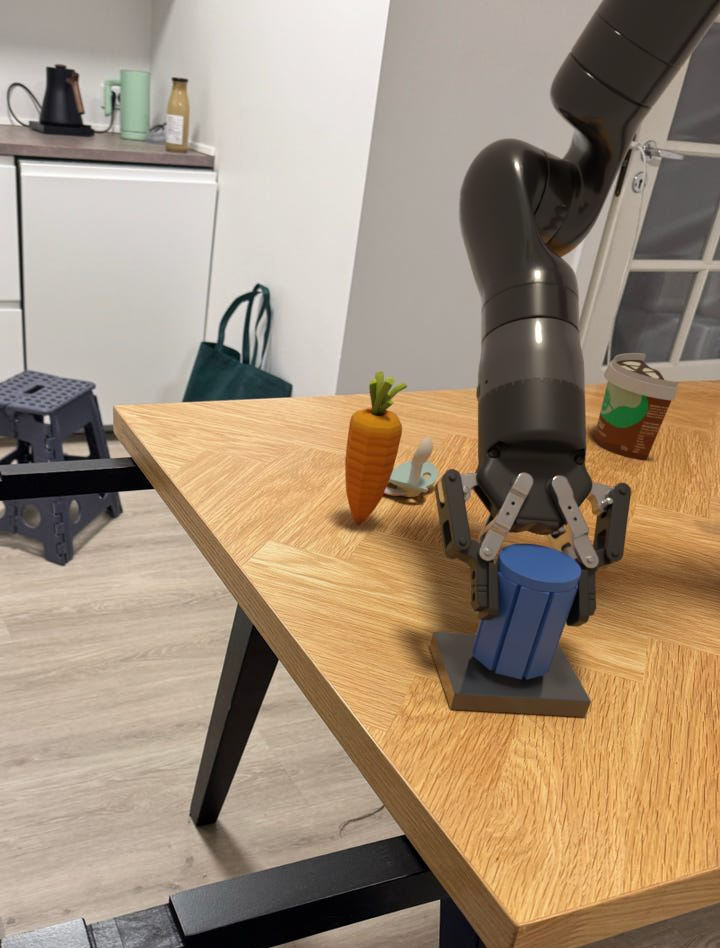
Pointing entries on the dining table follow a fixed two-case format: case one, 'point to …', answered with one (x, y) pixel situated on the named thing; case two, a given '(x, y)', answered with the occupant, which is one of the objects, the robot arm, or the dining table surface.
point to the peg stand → (504, 682)
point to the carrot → (372, 448)
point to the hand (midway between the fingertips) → (533, 620)
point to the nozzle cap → (528, 611)
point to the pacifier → (414, 473)
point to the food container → (633, 406)
